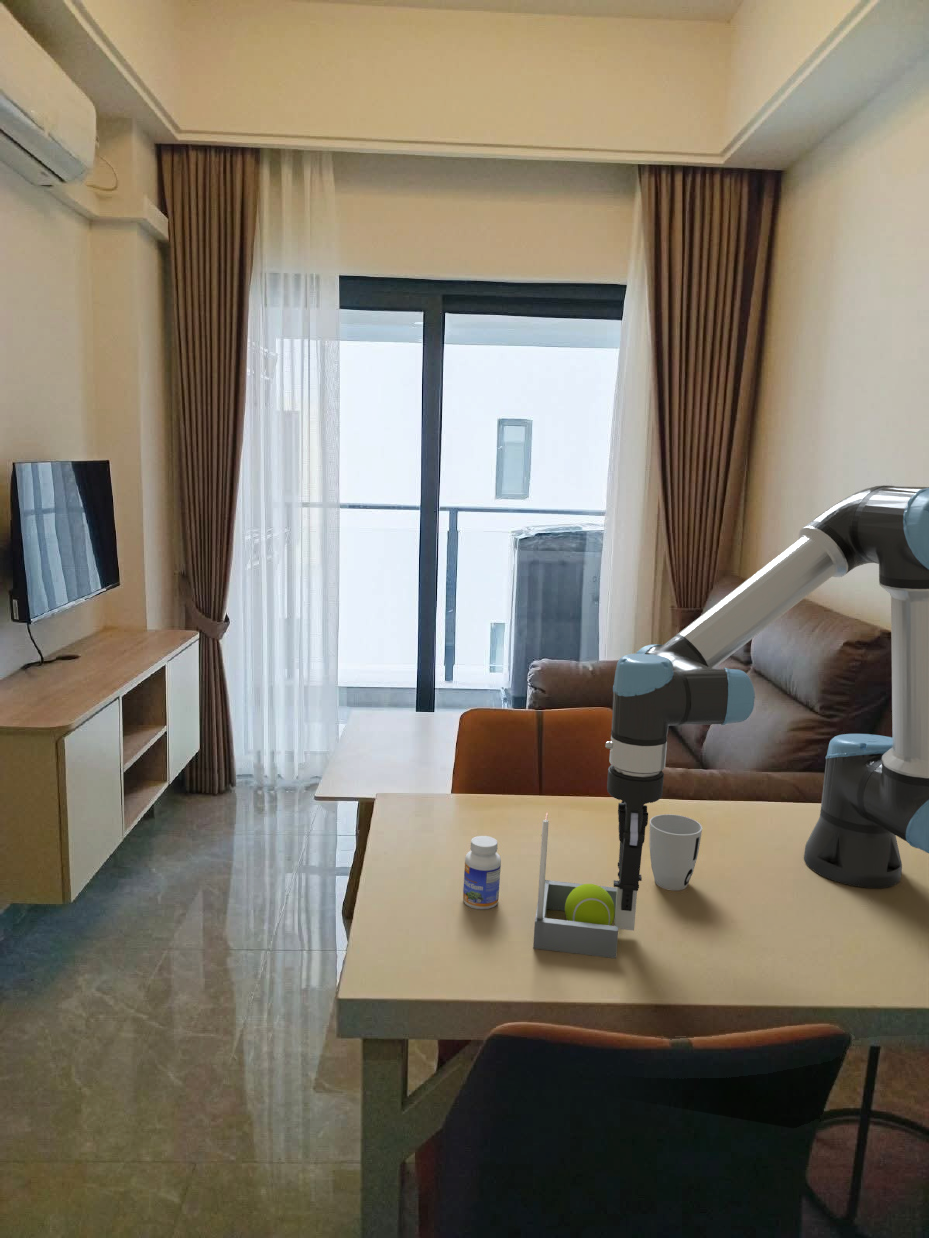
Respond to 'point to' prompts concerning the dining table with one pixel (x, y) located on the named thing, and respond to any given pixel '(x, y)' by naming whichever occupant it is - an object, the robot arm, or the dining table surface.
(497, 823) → the dining table surface
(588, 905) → the tennis ball
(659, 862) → the cup
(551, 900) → the gray u frame
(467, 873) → the pill bottle
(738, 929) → the dining table surface
